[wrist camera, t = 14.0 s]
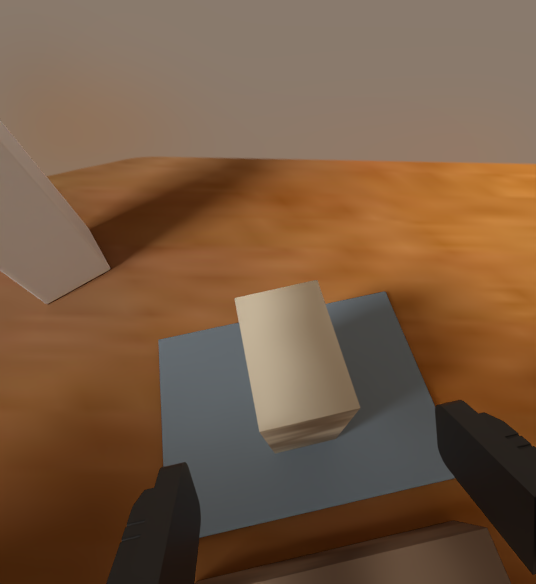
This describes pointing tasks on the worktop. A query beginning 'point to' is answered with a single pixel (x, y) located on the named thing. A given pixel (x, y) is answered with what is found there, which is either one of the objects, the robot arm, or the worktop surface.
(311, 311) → the birch block
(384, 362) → the rubber mat
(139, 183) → the worktop surface
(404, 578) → the plate
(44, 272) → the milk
